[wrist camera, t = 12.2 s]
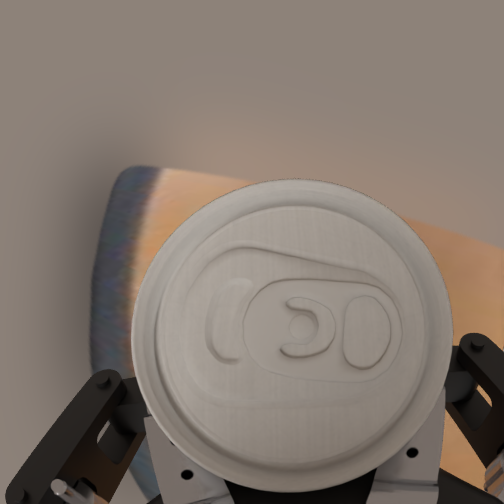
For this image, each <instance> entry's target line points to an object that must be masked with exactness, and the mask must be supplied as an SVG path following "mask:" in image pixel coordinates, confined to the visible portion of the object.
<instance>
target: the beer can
mask: <svg viewBox="0 0 504 504" xmlns="http://www.w3.org/2000/svg"><path fill="white" fill-rule="evenodd" d="M452 342H453V322H452V311H451V306H450V300H449V296H448V292H447V289H446V286H445V282H444V279H443V277H442V275H441V272H440V270H439V268H438V266H437V263H436V262H435V260H434V258H433V256H432V255H431V253H430V251H429V250H428V248H427V247H426V245H425V244H424V243H423V241H422V240H421V239H420V237H419V236H418V235H417V234H416V232H415V231H414V230H413V229H412V228H411V227H410V226H409V225H408V224H407V223H406V222H405V221H404V220H403V219H402V218H400V217H399V216H398V215H397V214H396V213H394V212H393V211H392V210H390V209H389V208H388V207H386V206H385V205H383V204H382V203H380V202H378V201H376V200H375V199H373V198H371V197H369V196H367V195H365V194H363V193H361V192H358V191H356V190H353V189H351V188H348V187H345V186H341V185H338V184H334V183H330V182H325V181H319V180H310V179H280V180H272V181H265V182H261V183H256V184H252V185H248V186H245V187H242V188H240V189H237V190H234V191H231V192H229V193H227V194H225V195H223V196H221V197H219V198H217V199H215V200H213V201H212V202H210V203H208V204H207V205H205V206H203V207H202V208H200V209H199V210H198V211H196V212H195V213H194V214H192V215H191V216H190V217H189V218H187V219H186V220H185V221H184V222H183V223H182V224H181V225H180V226H179V227H178V228H177V229H176V230H175V231H174V232H173V233H172V234H171V235H170V236H169V238H168V239H167V240H166V241H165V242H164V244H163V245H162V247H161V248H160V249H159V251H158V252H157V254H156V255H155V257H154V259H153V260H152V262H151V264H150V266H149V268H148V269H147V272H146V274H145V276H144V279H143V281H142V283H141V286H140V289H139V292H138V295H137V299H136V302H135V307H134V313H133V319H132V332H131V345H132V358H133V364H134V369H135V375H136V378H137V381H138V385H139V388H140V391H141V394H142V396H143V398H144V400H145V402H146V405H147V407H148V409H149V411H150V412H151V414H152V416H153V417H154V419H155V421H156V422H157V424H158V425H159V427H160V428H161V429H162V431H163V432H164V433H165V434H166V436H167V437H168V438H169V439H170V441H171V442H172V443H173V444H174V445H175V446H176V447H177V448H179V449H180V450H181V451H182V452H183V453H184V454H185V455H186V456H187V457H189V458H190V459H191V460H193V461H194V462H195V463H197V464H198V465H200V466H201V467H202V468H204V469H206V470H208V471H210V472H211V473H213V474H215V475H217V476H219V477H221V478H223V479H226V480H228V481H231V482H233V483H236V484H238V485H242V486H246V487H250V488H254V489H258V490H264V491H272V492H306V491H314V490H321V489H325V488H329V487H333V486H336V485H340V484H343V483H345V482H348V481H350V480H353V479H355V478H358V477H360V476H362V475H364V474H366V473H368V472H369V471H371V470H373V469H375V468H376V467H378V466H380V465H381V464H383V463H384V462H385V461H387V460H388V459H389V458H391V457H392V456H393V455H395V454H396V453H397V452H398V451H399V450H400V449H401V448H402V447H403V446H404V445H405V444H406V443H408V442H409V441H410V440H411V438H412V437H413V436H414V435H415V434H416V432H417V431H418V430H419V429H420V427H421V426H422V425H423V424H424V422H425V421H426V419H427V417H428V416H429V414H430V413H431V411H432V409H433V408H434V406H435V404H436V402H437V400H438V397H439V395H440V393H441V391H442V388H443V385H444V382H445V379H446V376H447V373H448V369H449V364H450V359H451V353H452Z"/></svg>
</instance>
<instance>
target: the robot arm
mask: <svg viewBox="0 0 504 504" xmlns="http://www.w3.org/2000/svg"><path fill="white" fill-rule="evenodd" d="M478 385H480V386H481V387H482V388H483V390H484V391H485V392H486V393H487V394H488V396H489V397H490V399H491V401H492V407H491V406H490V405H489V404H488V402H487V401H486V400H485V399H484V397H483V396H482V395H481V394H480V393H479V391H478V390H477V387H478ZM445 409H446V410H447V412H448V413H449V414H450V416H451V417H452V419H453V420H454V421H455V423H456V424H457V426H458V427H459V429H460V430H461V432H462V433H463V434H464V436H465V437H466V439H467V440H468V442H469V443H470V445H471V446H472V448H473V449H474V451H475V452H476V454H477V455H478V457H479V459H480V460H481V462H482V463H483V465H484V466H485V468H486V472H485V483H484V490H485V491H486V492H485V491H483V490H481V489H479V488H477V487H475V486H473V485H471V484H469V483H467V482H465V481H463V480H461V479H459V478H458V477H456V476H454V475H452V474H450V473H448V472H447V471H445V470H443V469H441V468H439V466H440V459H441V451H442V442H443V432H444V418H445ZM107 421H109V422H110V425H109V426H108V428H107V430H106V431H105V433H104V434H103V436H102V437H101V439H100V441H99V442H98V444H97V437H98V434H99V433H100V431H101V430H102V428H103V427H104V425H105V424H106V422H107ZM146 434H147V439H148V444H149V448H150V453H151V457H152V462H153V466H154V470H155V474H156V478H157V482H158V485H159V489H160V492H161V493H160V494H159V495H158V496H156V497H155V498H154V499H152V500H151V501H150V502H148V503H147V504H504V352H503V351H502V350H501V349H500V348H499V347H498V346H497V345H496V344H495V343H493V342H492V341H491V340H490V339H489V338H488V337H486V336H485V335H482V334H479V333H469V334H466V335H464V336H463V337H462V338H461V340H460V344H459V346H452V353H451V359H450V364H449V369H448V373H447V376H446V379H445V382H444V385H443V388H442V391H441V393H440V395H439V397H438V400H437V402H436V404H435V406H434V408H433V409H432V411H431V413H430V414H429V416H428V417H427V419H426V421H425V422H424V424H423V425H422V426H421V427H420V429H419V430H418V431H417V432H416V434H415V435H414V436H413V437H412V438H411V440H410V441H409V442H408V443H406V444H405V445H404V446H403V447H402V448H401V449H400V450H399V451H398V452H397V453H396V454H395V455H393V456H392V457H391V458H389V459H388V460H387V461H385V462H384V463H383V464H381V465H380V466H378V467H376V468H375V469H373V470H371V471H369V472H368V473H366V474H364V475H362V476H360V477H358V478H355V479H353V480H350V481H348V482H345V483H343V484H340V485H336V486H333V487H329V488H325V489H321V490H314V491H306V492H272V491H264V490H258V489H254V488H250V487H246V486H242V485H238V484H236V483H233V482H231V481H228V480H226V479H223V478H221V477H219V476H217V475H215V474H213V473H211V472H210V471H208V470H206V469H204V468H202V467H201V466H200V465H198V464H197V463H195V462H194V461H193V460H191V459H190V458H189V457H187V456H186V455H185V454H184V453H183V452H182V451H181V450H180V449H179V448H177V447H176V446H175V445H174V444H173V443H172V442H171V441H170V439H169V438H168V437H167V436H166V434H165V433H164V432H163V431H162V429H161V428H160V427H159V425H158V424H157V422H156V421H155V419H154V417H153V416H152V414H151V412H150V411H149V409H148V407H147V405H146V402H145V400H144V398H143V396H142V394H141V391H140V388H139V385H138V381H137V378H136V377H133V378H128V379H123V380H122V378H121V376H120V374H119V373H118V372H117V371H115V370H111V369H107V370H102V371H99V372H97V373H95V374H94V375H93V376H92V377H91V378H90V379H89V380H88V381H87V382H86V384H85V385H84V386H83V387H82V389H81V390H80V391H79V392H78V394H77V395H76V396H75V397H74V399H73V400H72V401H71V402H70V404H69V405H68V406H67V407H66V409H65V410H64V411H63V412H62V414H61V415H60V416H59V418H58V419H57V420H56V422H55V423H54V424H53V425H52V427H51V428H50V429H49V431H48V432H47V433H46V435H45V436H44V437H43V439H42V440H41V441H40V443H39V444H38V445H37V447H36V448H35V449H34V451H33V452H32V453H31V455H30V456H29V457H28V459H27V460H26V462H25V463H24V464H23V466H22V467H21V469H20V470H19V471H18V473H17V474H16V476H15V477H14V478H13V480H12V481H11V483H10V484H9V486H8V487H7V490H6V494H5V498H6V503H7V504H109V502H110V501H111V499H112V497H113V495H114V493H115V491H116V489H117V488H118V486H119V484H120V482H121V480H122V478H123V476H124V474H125V473H126V471H127V469H128V467H129V465H130V463H131V461H132V460H133V458H134V456H135V454H136V452H137V450H138V448H139V447H140V445H141V443H142V441H143V439H144V437H145V435H146ZM487 492H488V493H487Z"/></svg>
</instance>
